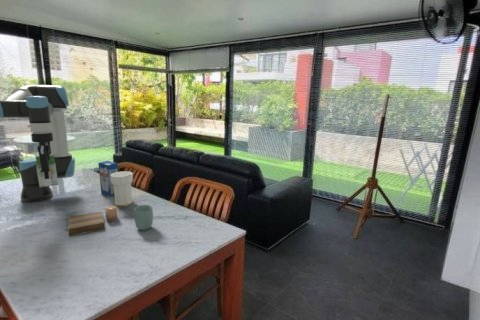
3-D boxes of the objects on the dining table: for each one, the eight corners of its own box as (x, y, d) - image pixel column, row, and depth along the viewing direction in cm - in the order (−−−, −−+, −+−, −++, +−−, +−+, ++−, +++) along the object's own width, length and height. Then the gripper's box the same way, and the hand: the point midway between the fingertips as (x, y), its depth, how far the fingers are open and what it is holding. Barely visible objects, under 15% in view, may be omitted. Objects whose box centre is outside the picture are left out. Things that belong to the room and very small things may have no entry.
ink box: (39, 187, 119) (34, 158, 116) (39, 185, 122) (35, 156, 119) (58, 185, 123) (54, 156, 120) (58, 183, 126) (54, 154, 123)
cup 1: (108, 205, 150) (105, 175, 146) (123, 198, 161) (121, 170, 157) (123, 208, 146) (121, 177, 142) (138, 201, 156) (137, 172, 152)
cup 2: (156, 226, 128) (155, 206, 125) (146, 233, 120) (144, 212, 118) (143, 223, 130) (141, 203, 128) (131, 230, 123) (130, 210, 121)
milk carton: (120, 194, 167) (117, 163, 162) (110, 197, 162) (107, 165, 157) (110, 191, 172) (107, 160, 167) (101, 194, 167) (98, 162, 162)
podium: (69, 222, 129) (68, 217, 128) (102, 216, 136) (101, 211, 135) (68, 235, 117) (68, 229, 116) (104, 228, 124) (104, 222, 123)
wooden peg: (106, 218, 134) (105, 207, 133) (117, 216, 137) (116, 205, 135) (107, 222, 130) (105, 210, 129) (118, 220, 133) (117, 208, 131)
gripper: (34, 130, 123) (41, 180, 128) (27, 135, 108) (35, 190, 113) (54, 130, 126) (60, 178, 131) (49, 134, 112) (57, 188, 117)
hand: (48, 183), depth 122 cm, fingers closed on ink box, 4 cm apart
